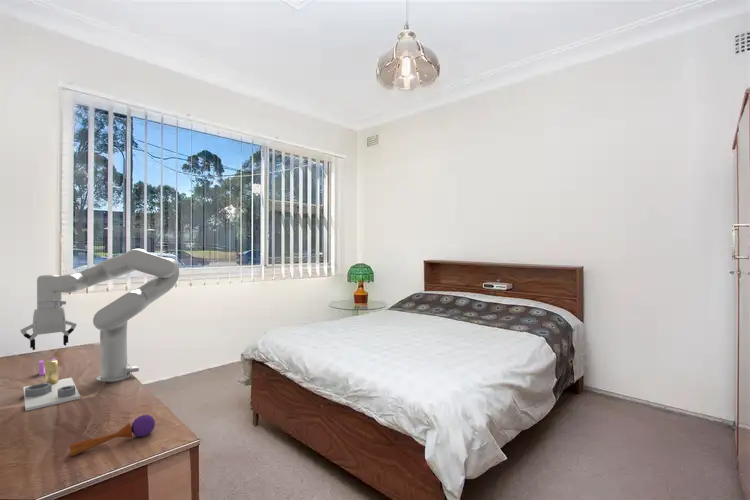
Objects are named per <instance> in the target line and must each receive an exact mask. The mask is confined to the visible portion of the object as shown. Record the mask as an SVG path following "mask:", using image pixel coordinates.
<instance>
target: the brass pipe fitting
mask: <svg viewBox="0 0 750 500" xmlns="http://www.w3.org/2000/svg"><path fill="white" fill-rule="evenodd" d="M58 362H59V360H58V359H56V360H52V359H51V360H47V361H44V367H45V374H44V377H45V378H44V379H45V380H44V381H45V382H44V383H51V385H53V384H56V383H58V380H59V363H58Z"/></svg>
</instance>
